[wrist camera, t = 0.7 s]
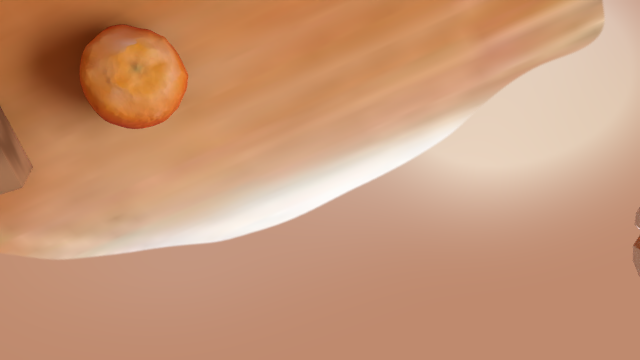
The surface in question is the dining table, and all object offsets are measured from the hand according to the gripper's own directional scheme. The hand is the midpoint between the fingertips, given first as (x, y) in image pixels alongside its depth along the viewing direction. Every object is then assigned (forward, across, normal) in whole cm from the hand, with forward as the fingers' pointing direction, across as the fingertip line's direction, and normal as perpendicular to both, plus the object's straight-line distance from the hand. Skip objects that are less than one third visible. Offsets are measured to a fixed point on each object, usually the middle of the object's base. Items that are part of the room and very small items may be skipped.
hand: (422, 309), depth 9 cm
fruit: (+42, +9, +5) cm, 44 cm away
